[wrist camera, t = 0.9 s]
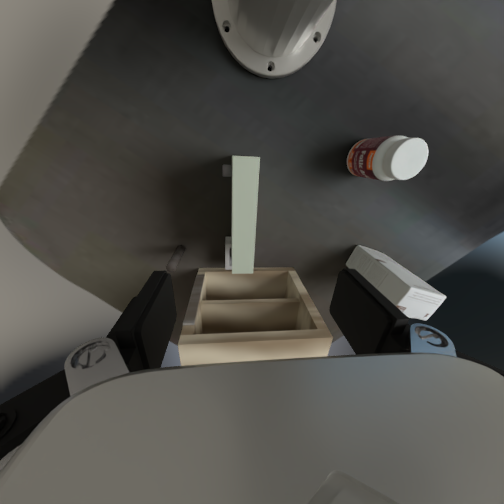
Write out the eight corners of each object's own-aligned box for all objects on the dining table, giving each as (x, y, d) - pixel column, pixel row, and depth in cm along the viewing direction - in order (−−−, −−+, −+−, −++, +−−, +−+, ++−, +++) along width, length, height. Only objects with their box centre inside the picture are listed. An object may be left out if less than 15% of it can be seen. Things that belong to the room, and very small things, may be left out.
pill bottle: (340, 152, 28) (382, 151, 20) (373, 131, 27) (428, 122, 19) (351, 182, 30) (392, 192, 22) (382, 164, 29) (435, 167, 21)
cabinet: (176, 245, 31) (136, 313, 18) (296, 245, 33) (342, 307, 20) (186, 323, 38) (162, 415, 25) (285, 319, 40) (312, 402, 27)
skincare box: (384, 252, 36) (452, 295, 25) (370, 273, 37) (428, 322, 26) (355, 243, 34) (414, 284, 23) (342, 265, 36) (391, 313, 25)
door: (224, 155, 26) (221, 155, 17) (256, 156, 27) (269, 157, 18) (225, 260, 33) (223, 299, 24) (251, 260, 34) (258, 298, 25)
